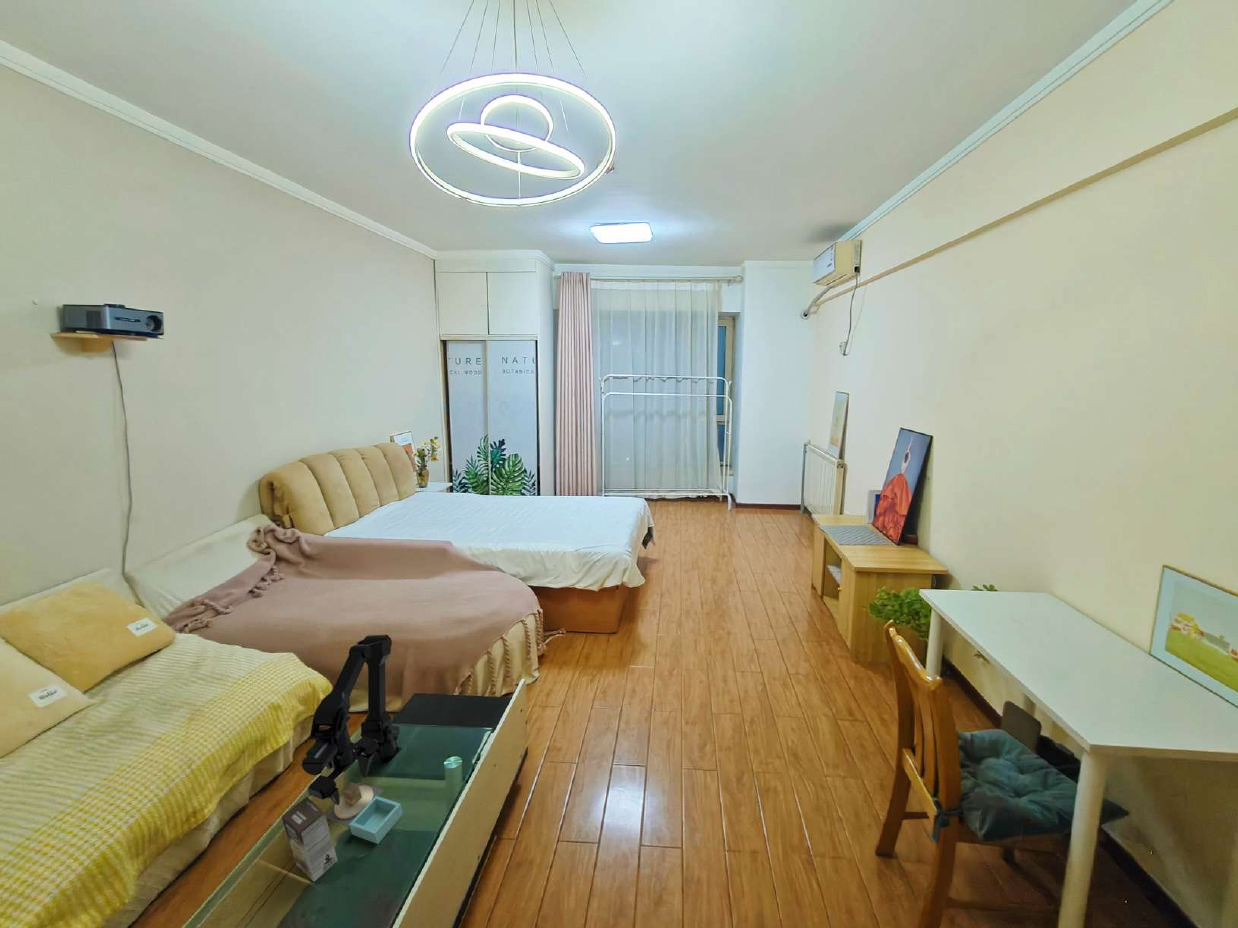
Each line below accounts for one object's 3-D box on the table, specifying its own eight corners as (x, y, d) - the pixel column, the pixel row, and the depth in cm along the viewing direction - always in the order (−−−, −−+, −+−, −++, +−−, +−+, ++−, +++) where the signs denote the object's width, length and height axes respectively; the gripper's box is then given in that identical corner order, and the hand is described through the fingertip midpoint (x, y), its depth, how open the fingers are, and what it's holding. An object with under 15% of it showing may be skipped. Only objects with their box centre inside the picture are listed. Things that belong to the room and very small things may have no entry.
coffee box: (295, 866, 130) (279, 815, 126) (320, 844, 135) (306, 795, 131) (314, 884, 125) (298, 832, 121) (339, 861, 130) (325, 810, 126)
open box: (378, 806, 145) (376, 795, 144) (403, 815, 142) (400, 803, 141) (352, 835, 137) (349, 824, 136) (378, 845, 134) (374, 833, 133)
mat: (359, 783, 154) (358, 781, 153) (384, 791, 150) (384, 789, 150) (324, 818, 143) (323, 816, 143) (350, 828, 139) (349, 826, 139)
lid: (356, 784, 153) (352, 769, 151) (381, 792, 149) (377, 777, 148) (326, 813, 144) (322, 798, 142) (352, 823, 140) (348, 807, 139)
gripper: (345, 715, 153) (357, 758, 157) (287, 764, 136) (301, 811, 140) (374, 722, 149) (385, 766, 153) (316, 774, 132) (330, 822, 136)
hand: (351, 790), depth 145 cm, fingers open, 9 cm apart
